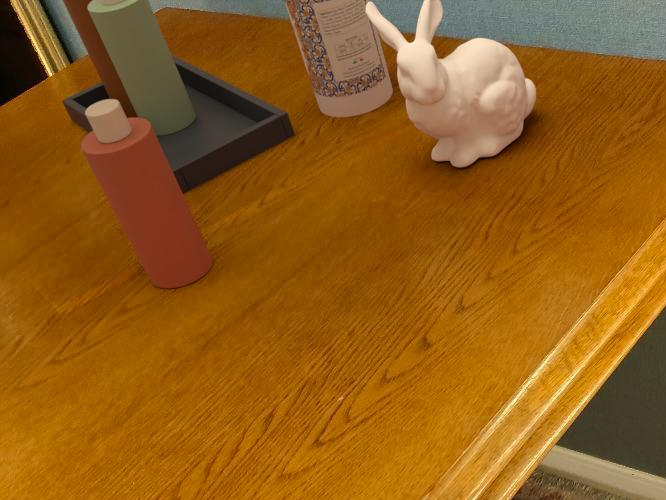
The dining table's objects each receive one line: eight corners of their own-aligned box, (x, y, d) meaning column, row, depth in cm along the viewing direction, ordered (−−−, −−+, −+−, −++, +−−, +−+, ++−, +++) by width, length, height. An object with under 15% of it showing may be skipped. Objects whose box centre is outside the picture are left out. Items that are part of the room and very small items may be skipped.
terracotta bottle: (167, 296, 75) (83, 132, 66) (139, 273, 78) (54, 113, 69) (224, 265, 77) (150, 100, 67) (194, 243, 80) (119, 82, 70)
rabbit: (446, 187, 80) (409, 33, 71) (384, 152, 85) (342, 4, 76) (562, 124, 84) (540, -30, 75) (495, 94, 89) (468, -53, 80)
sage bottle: (159, 141, 91) (89, -9, 82) (135, 127, 94) (66, -20, 85) (205, 118, 93) (143, -32, 83) (181, 104, 96) (118, -42, 86)
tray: (185, 202, 85) (171, 171, 83) (75, 128, 98) (61, 100, 96) (298, 142, 89) (287, 112, 87) (178, 79, 102) (166, 51, 100)
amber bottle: (131, 124, 95) (61, -23, 85) (109, 110, 98) (39, -33, 88) (176, 102, 97) (113, -44, 87) (154, 89, 99) (90, -54, 90)
